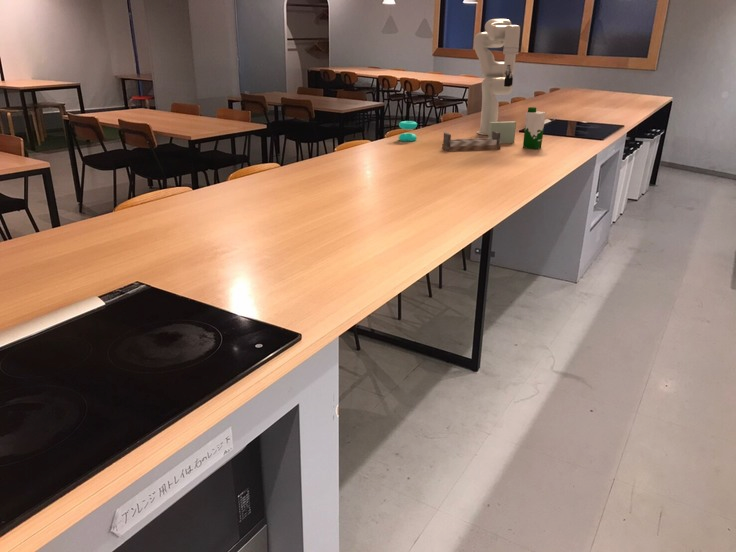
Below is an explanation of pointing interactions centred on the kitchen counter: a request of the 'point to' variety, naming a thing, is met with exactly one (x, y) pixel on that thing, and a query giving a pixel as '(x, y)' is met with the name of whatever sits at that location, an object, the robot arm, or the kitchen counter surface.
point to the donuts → (407, 135)
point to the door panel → (503, 131)
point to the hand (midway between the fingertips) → (508, 86)
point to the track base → (471, 143)
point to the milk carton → (533, 128)
